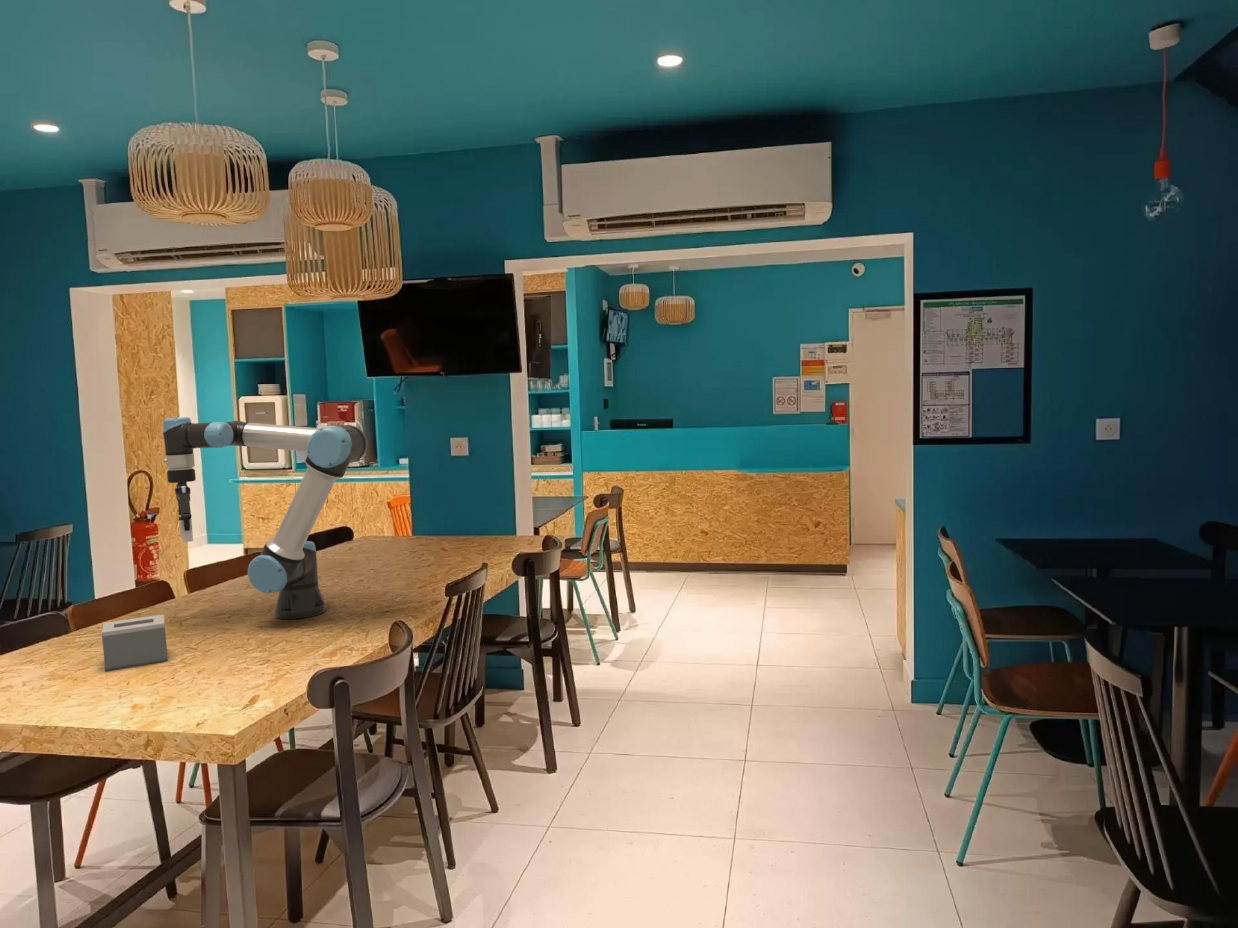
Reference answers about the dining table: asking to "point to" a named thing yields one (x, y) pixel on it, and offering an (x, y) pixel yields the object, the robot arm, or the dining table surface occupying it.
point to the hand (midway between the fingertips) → (186, 539)
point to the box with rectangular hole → (134, 642)
